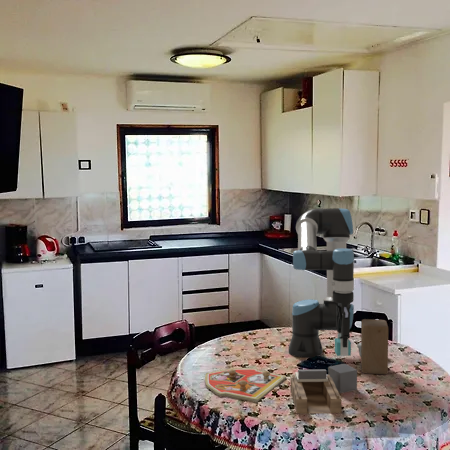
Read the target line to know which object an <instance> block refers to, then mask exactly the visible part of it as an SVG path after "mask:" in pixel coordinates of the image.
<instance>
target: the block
mask: <svg viewBox="0 0 450 450" xmlns="http://www.w3.org/2000/svg"><path fill="white" fill-rule="evenodd" d="M334 353H335V354H336V356H337V357H342V356H341V355H340V338H337V337H336V338H334ZM349 356H352V342H351V340H350V338H348V356H347V357H349Z"/></svg>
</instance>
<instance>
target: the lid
mask: <svg viewBox="0 0 450 450" xmlns="http://www.w3.org/2000/svg"><path fill="white" fill-rule="evenodd" d="M297 370H298V371H295V372H294V375H295V378H296V379H297V382H328V378H327V370H326V369H322V368H321V369H320V368H319V369H318V368H317V369H297Z"/></svg>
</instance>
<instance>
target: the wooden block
mask: <svg viewBox="0 0 450 450" xmlns="http://www.w3.org/2000/svg"><path fill="white" fill-rule="evenodd" d="M360 326H361V327H360V328H361V331H360V333H361V335H360V336H361V337H360V339H361V340H360V343H361V357H360V366H361V372H362V373H363V374H370V375H388V372H389V366H388V365H389V326H388V323H387V320H385V319H369V318H367V319H366V318H364V319H361V325H360Z"/></svg>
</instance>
